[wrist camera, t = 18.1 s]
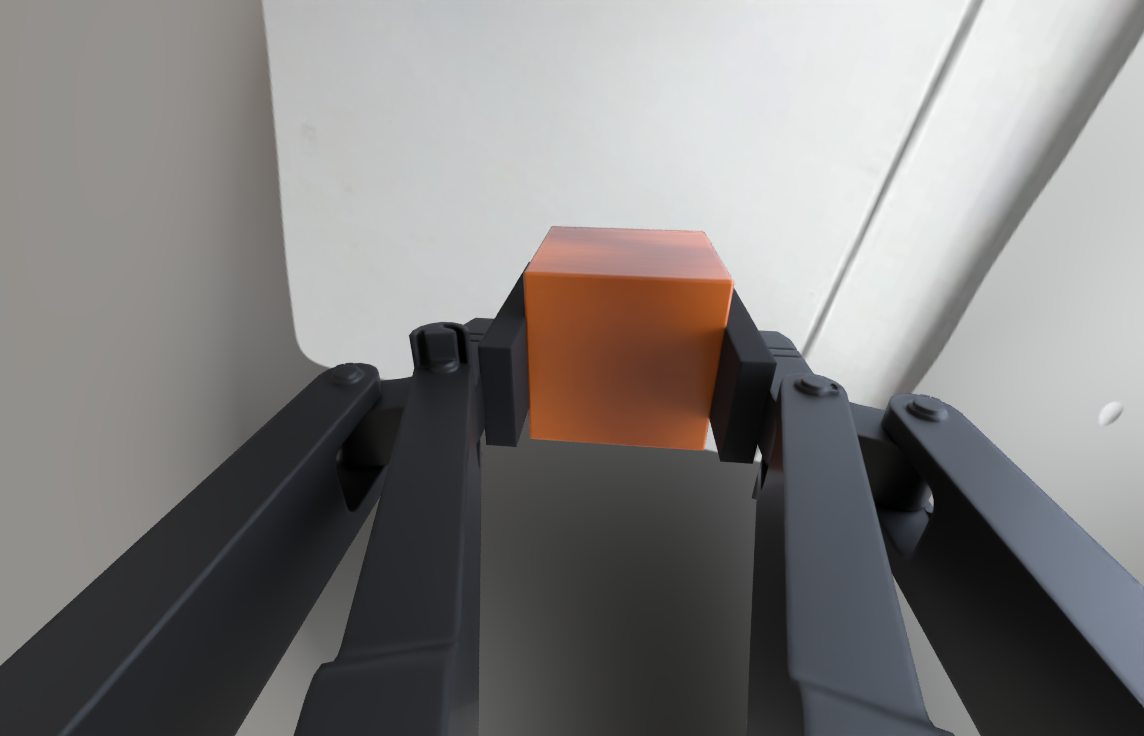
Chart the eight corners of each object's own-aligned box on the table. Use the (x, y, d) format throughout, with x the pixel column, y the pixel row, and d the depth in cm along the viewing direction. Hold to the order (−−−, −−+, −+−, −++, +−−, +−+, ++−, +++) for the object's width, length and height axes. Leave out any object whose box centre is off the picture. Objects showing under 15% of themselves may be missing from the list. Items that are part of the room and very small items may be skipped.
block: (551, 359, 18) (529, 439, 14) (550, 225, 16) (522, 272, 12) (685, 367, 18) (704, 451, 14) (705, 230, 16) (735, 281, 11)
